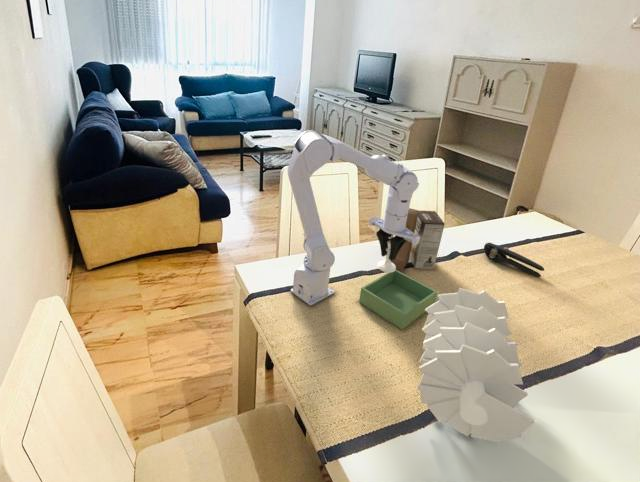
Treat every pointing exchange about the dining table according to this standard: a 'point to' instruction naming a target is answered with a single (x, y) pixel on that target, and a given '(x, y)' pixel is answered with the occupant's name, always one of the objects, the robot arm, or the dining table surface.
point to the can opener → (500, 254)
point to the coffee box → (427, 240)
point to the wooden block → (405, 250)
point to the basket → (397, 298)
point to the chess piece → (387, 260)
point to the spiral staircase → (472, 367)
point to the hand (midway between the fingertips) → (388, 257)
